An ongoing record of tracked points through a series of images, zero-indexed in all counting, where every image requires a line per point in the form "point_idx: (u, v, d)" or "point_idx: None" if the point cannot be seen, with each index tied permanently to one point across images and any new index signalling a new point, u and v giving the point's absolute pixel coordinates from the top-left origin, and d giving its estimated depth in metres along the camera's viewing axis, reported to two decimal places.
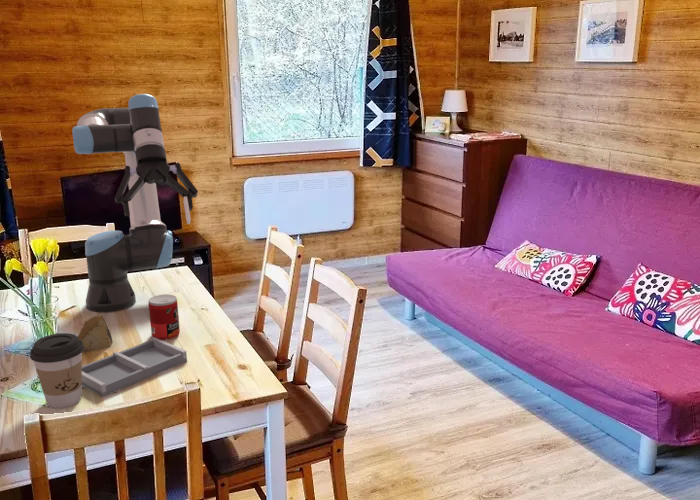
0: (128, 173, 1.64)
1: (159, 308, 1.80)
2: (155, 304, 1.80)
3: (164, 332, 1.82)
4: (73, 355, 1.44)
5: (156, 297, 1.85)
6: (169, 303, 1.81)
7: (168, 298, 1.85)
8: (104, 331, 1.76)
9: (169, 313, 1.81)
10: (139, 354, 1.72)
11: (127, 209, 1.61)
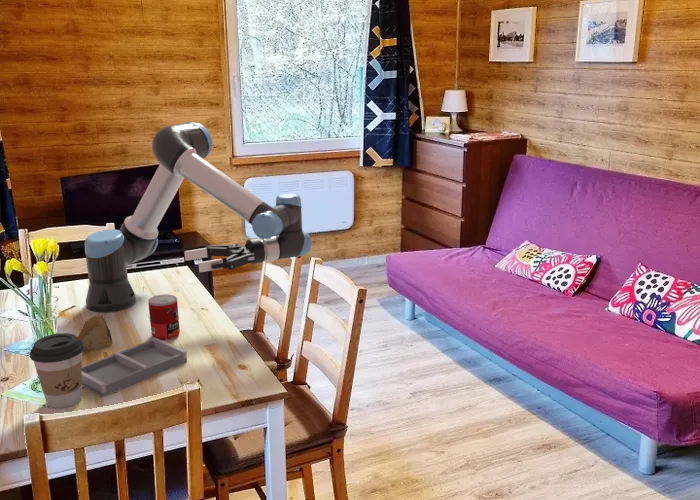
0: None
1: (159, 308, 1.80)
2: (155, 304, 1.80)
3: (164, 332, 1.82)
4: (73, 355, 1.44)
5: (156, 297, 1.85)
6: (169, 303, 1.81)
7: (168, 298, 1.85)
8: (104, 331, 1.76)
9: (169, 313, 1.81)
10: (139, 354, 1.72)
11: None
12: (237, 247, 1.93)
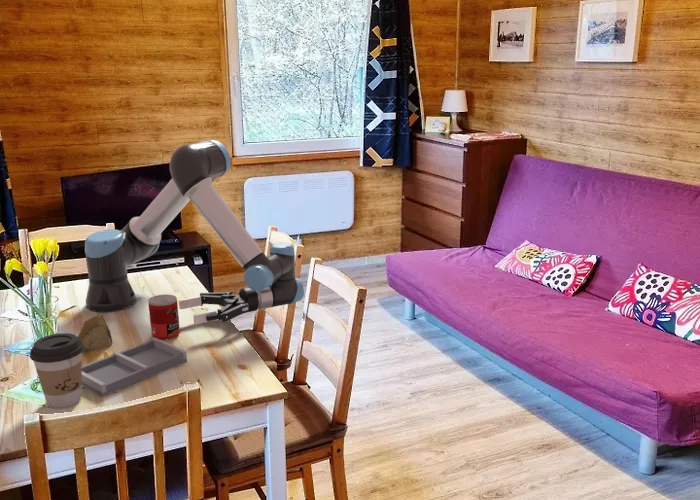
0: None
1: (159, 308, 1.80)
2: (155, 304, 1.80)
3: (164, 332, 1.82)
4: (73, 355, 1.44)
5: (156, 297, 1.85)
6: (169, 303, 1.81)
7: (168, 298, 1.85)
8: (104, 331, 1.76)
9: (169, 313, 1.81)
10: (139, 354, 1.72)
11: None
12: (231, 296, 1.95)
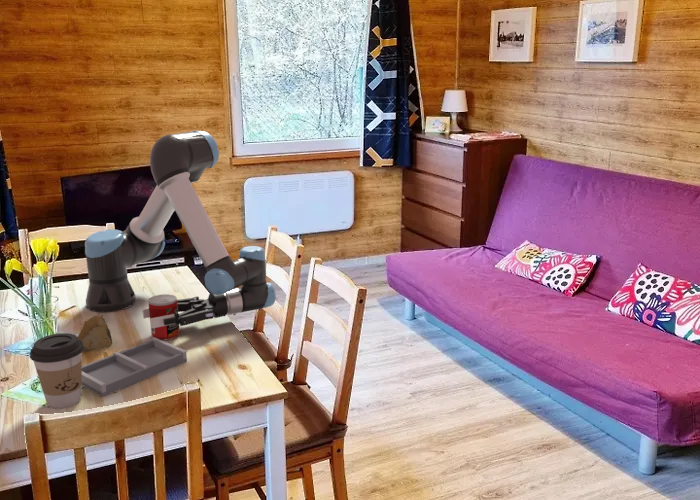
0: None
1: (159, 308, 1.80)
2: (155, 304, 1.80)
3: (164, 332, 1.82)
4: (73, 355, 1.44)
5: (156, 297, 1.85)
6: (169, 303, 1.81)
7: (168, 298, 1.85)
8: (104, 331, 1.76)
9: (169, 312, 1.81)
10: (139, 354, 1.72)
11: None
12: (200, 301, 1.91)
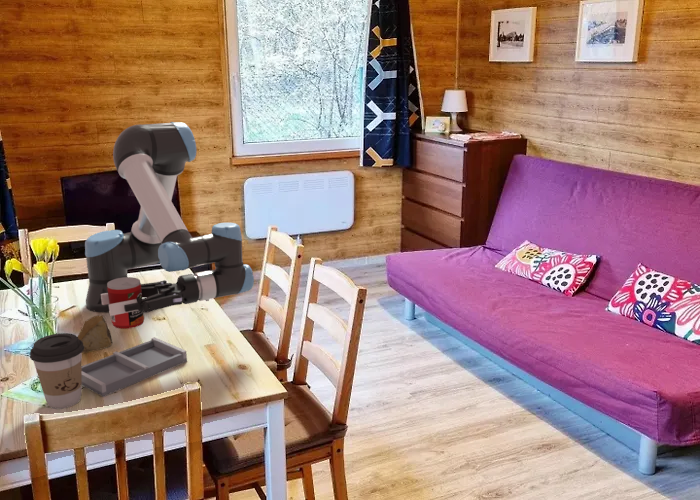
0: None
1: (120, 292, 1.57)
2: (114, 288, 1.57)
3: (125, 319, 1.59)
4: (73, 355, 1.44)
5: (117, 280, 1.62)
6: (131, 286, 1.58)
7: (130, 281, 1.62)
8: (104, 331, 1.76)
9: (131, 297, 1.58)
10: (139, 354, 1.72)
11: None
12: (167, 285, 1.68)
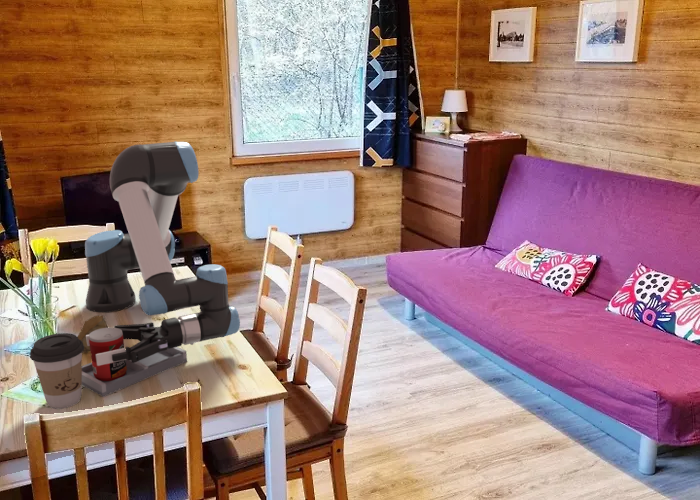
0: None
1: (101, 345, 1.54)
2: (95, 341, 1.54)
3: (106, 372, 1.56)
4: (73, 355, 1.44)
5: (99, 331, 1.60)
6: (112, 339, 1.55)
7: (112, 332, 1.59)
8: None
9: (112, 350, 1.56)
10: None
11: None
12: (150, 329, 1.64)
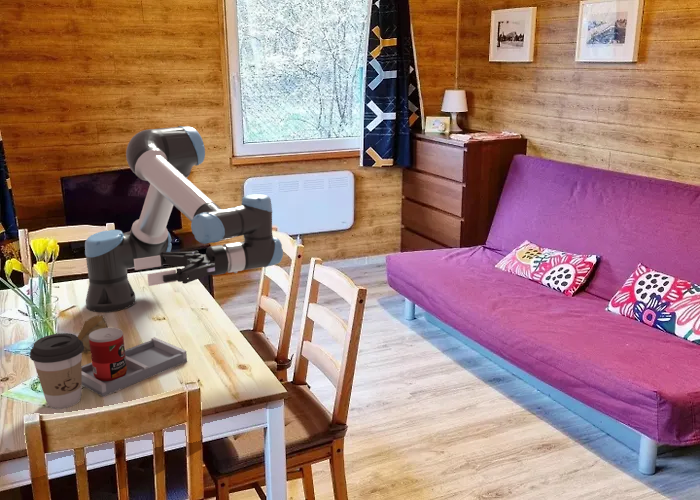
0: None
1: (101, 345, 1.54)
2: (95, 341, 1.54)
3: (106, 372, 1.56)
4: (73, 355, 1.44)
5: (99, 331, 1.60)
6: (112, 339, 1.55)
7: (113, 332, 1.59)
8: None
9: (112, 350, 1.56)
10: (139, 354, 1.72)
11: None
12: (196, 255, 1.66)
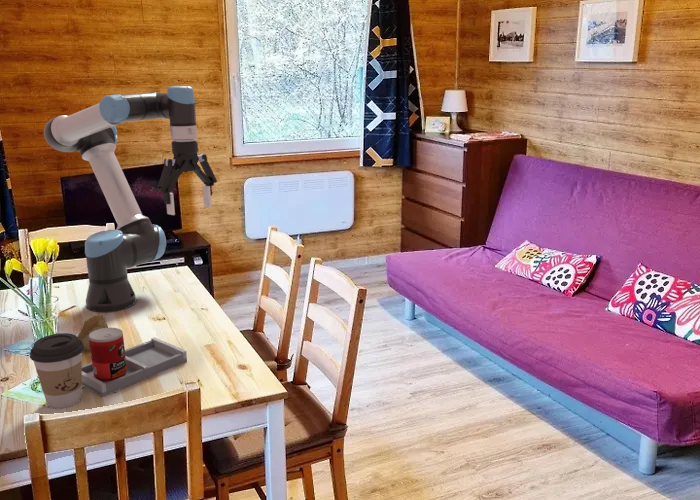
0: (171, 166, 1.89)
1: (101, 345, 1.54)
2: (95, 341, 1.54)
3: (106, 372, 1.56)
4: (73, 355, 1.44)
5: (99, 331, 1.60)
6: (112, 339, 1.55)
7: (113, 332, 1.59)
8: None
9: (112, 350, 1.56)
10: (139, 354, 1.72)
11: (169, 199, 1.91)
12: None
